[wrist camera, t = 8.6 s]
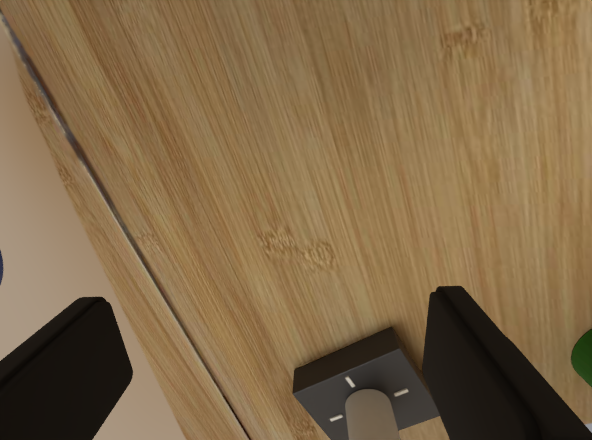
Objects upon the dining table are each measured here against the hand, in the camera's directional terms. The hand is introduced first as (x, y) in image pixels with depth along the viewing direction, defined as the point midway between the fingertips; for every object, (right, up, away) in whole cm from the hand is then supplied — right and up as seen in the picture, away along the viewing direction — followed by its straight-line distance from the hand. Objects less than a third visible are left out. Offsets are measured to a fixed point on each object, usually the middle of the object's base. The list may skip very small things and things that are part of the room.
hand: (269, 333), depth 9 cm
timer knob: (+8, -16, +21) cm, 28 cm away
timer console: (+8, -15, +24) cm, 30 cm away
